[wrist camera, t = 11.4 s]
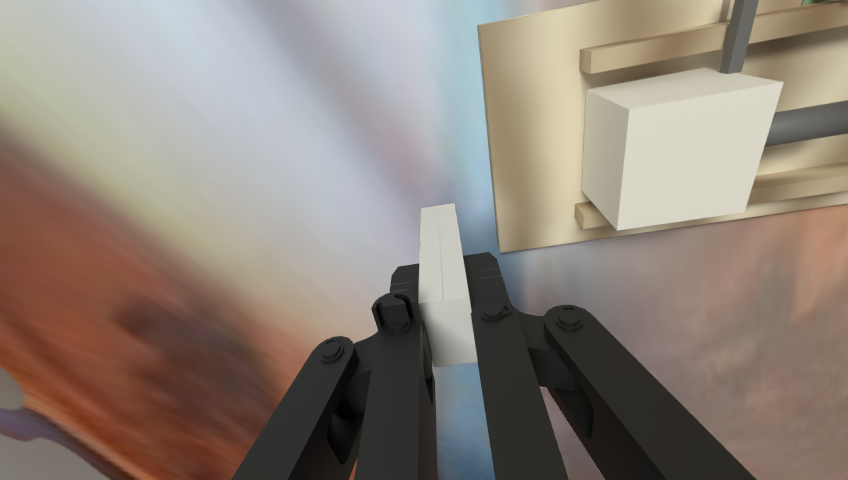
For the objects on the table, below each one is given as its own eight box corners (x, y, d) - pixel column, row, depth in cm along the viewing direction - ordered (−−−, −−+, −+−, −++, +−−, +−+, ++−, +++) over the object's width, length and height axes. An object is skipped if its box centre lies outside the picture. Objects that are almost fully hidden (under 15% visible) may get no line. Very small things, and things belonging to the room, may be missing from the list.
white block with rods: (582, 190, 23) (616, 230, 18) (589, 2, 18) (641, -2, 13) (791, 157, 21) (881, 192, 17) (865, -56, 16) (1018, -81, 12)
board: (497, 243, 27) (525, 338, 19) (477, 25, 20) (508, 30, 12) (931, 180, 24) (1180, 261, 16) (1095, -106, 17) (1695, -215, 9)
